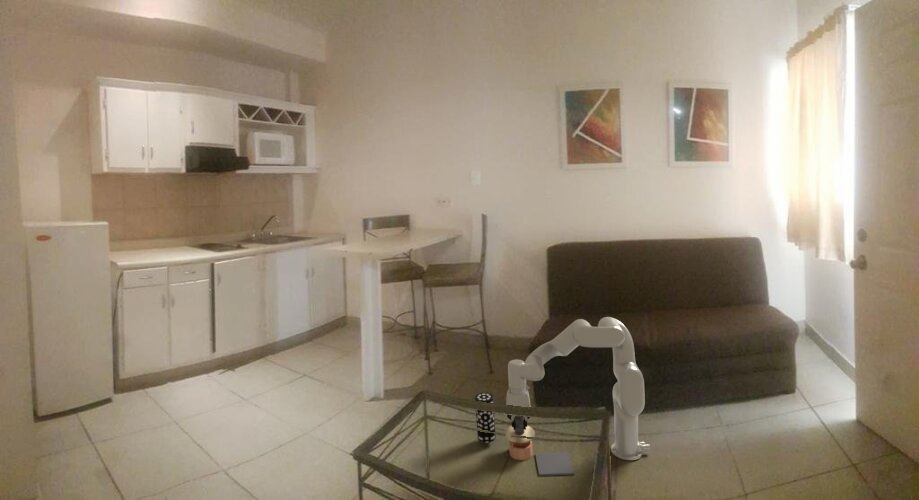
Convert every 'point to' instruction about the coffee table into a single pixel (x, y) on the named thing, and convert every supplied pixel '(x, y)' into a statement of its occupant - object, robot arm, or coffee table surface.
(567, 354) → the robot arm
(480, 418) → the white-spotted black cylinder
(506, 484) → the coffee table surface
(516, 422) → the lid
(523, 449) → the bowl
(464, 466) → the coffee table surface
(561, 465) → the mat
